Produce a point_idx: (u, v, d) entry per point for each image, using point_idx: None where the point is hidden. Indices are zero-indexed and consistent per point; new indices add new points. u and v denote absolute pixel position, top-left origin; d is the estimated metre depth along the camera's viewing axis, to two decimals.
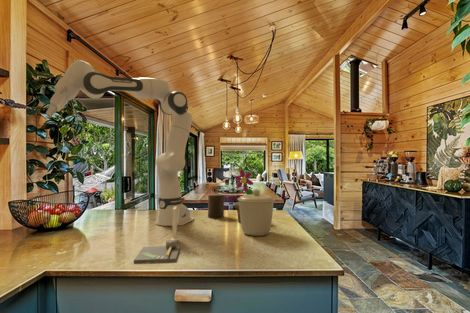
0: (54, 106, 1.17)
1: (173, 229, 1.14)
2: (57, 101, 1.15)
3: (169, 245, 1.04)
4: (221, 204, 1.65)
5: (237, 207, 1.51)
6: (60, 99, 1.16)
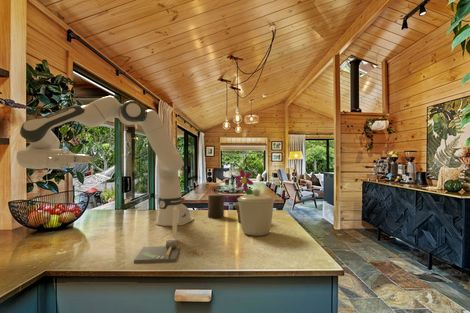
0: (77, 157, 1.15)
1: (173, 229, 1.14)
2: (66, 157, 1.11)
3: (169, 245, 1.04)
4: (221, 204, 1.65)
5: (237, 207, 1.51)
6: (63, 156, 1.11)
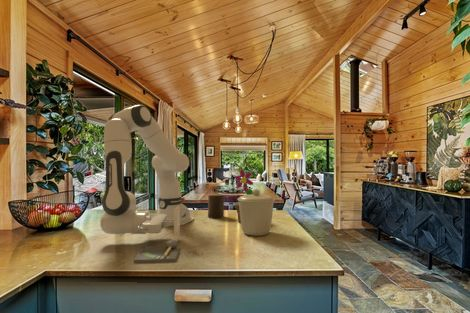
0: (164, 222, 1.14)
1: (174, 229, 1.14)
2: (156, 227, 1.07)
3: (169, 245, 1.04)
4: (221, 204, 1.65)
5: (237, 207, 1.51)
6: (153, 225, 1.07)
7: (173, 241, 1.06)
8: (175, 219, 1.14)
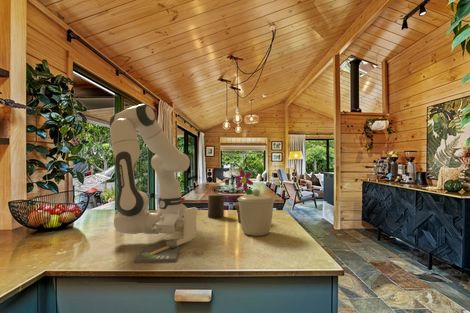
0: (177, 223, 1.14)
1: (184, 230, 1.13)
2: (170, 227, 1.07)
3: (167, 245, 1.04)
4: (221, 204, 1.65)
5: (237, 207, 1.51)
6: (166, 226, 1.07)
7: (173, 241, 1.05)
8: (184, 220, 1.13)
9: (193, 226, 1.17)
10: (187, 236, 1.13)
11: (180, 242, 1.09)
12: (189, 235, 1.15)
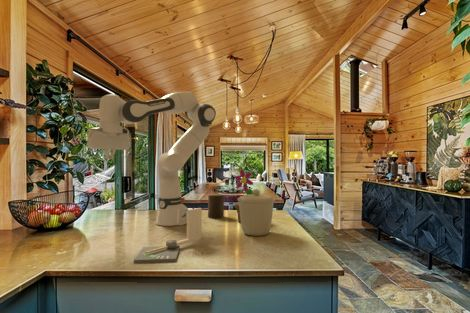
0: (105, 150, 1.25)
1: (187, 230, 1.12)
2: (90, 145, 1.18)
3: (166, 244, 1.05)
4: (221, 204, 1.65)
5: (237, 207, 1.51)
6: (90, 141, 1.18)
7: (172, 241, 1.05)
8: (187, 220, 1.12)
9: (198, 227, 1.15)
10: (190, 237, 1.12)
11: (181, 243, 1.08)
12: (193, 236, 1.13)
